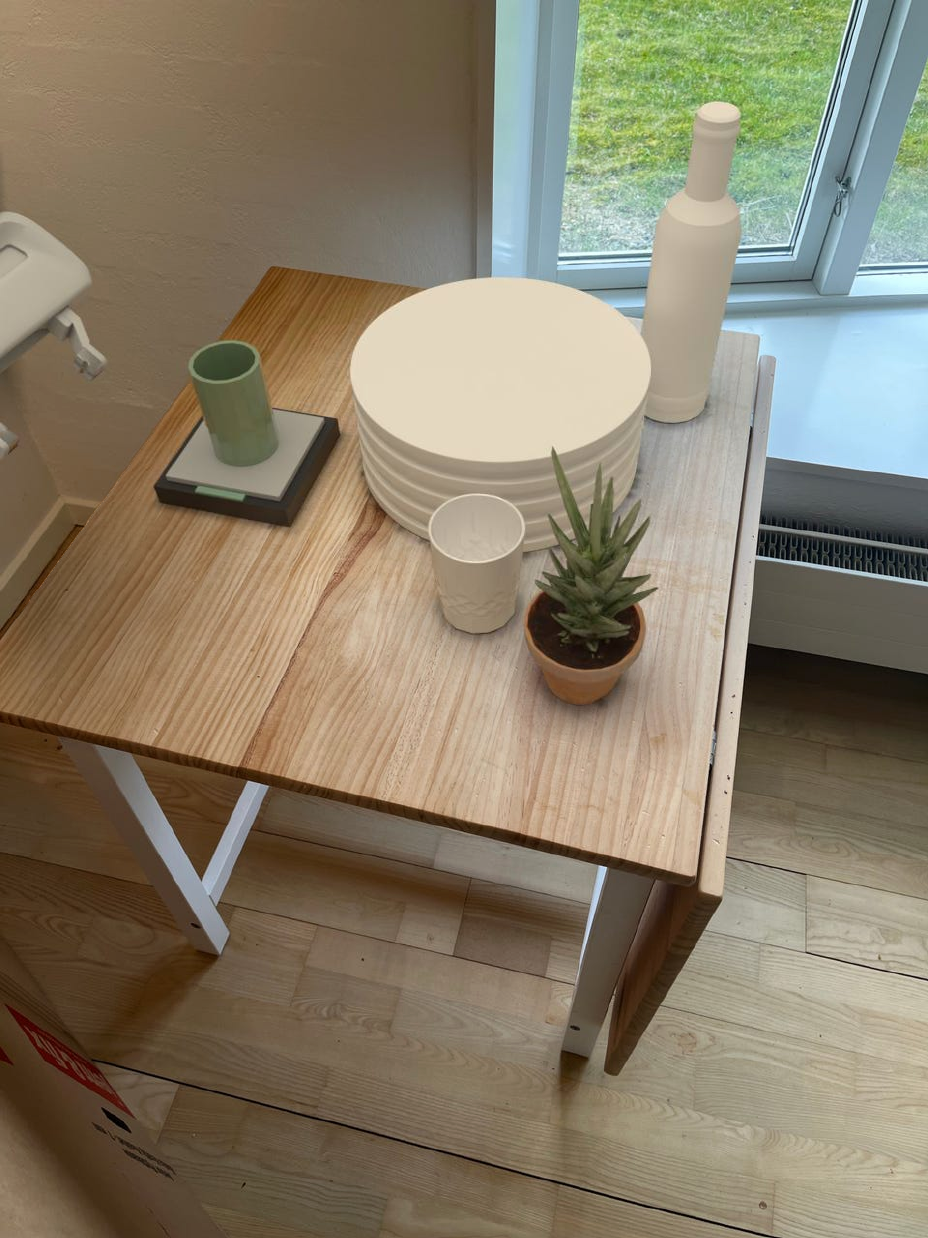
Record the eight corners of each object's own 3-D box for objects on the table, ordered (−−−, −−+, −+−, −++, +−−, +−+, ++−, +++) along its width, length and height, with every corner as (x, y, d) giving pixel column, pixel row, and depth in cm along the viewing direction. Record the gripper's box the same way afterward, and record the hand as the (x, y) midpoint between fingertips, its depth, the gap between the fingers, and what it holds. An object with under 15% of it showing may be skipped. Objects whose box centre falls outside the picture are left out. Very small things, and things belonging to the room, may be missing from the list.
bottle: (645, 430, 99) (691, 136, 76) (621, 384, 104) (657, 95, 80) (717, 417, 100) (785, 123, 77) (690, 372, 105) (745, 83, 81)
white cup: (420, 624, 84) (412, 547, 76) (454, 562, 88) (450, 483, 80) (504, 650, 82) (504, 573, 74) (534, 585, 86) (538, 506, 78)
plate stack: (559, 344, 109) (565, 251, 100) (689, 500, 92) (710, 406, 83) (327, 411, 102) (311, 318, 93) (423, 591, 86) (415, 500, 77)
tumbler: (224, 474, 92) (199, 391, 84) (206, 435, 96) (180, 352, 88) (287, 454, 94) (269, 370, 86) (267, 416, 98) (247, 332, 90)
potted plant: (503, 653, 81) (505, 429, 62) (600, 616, 84) (631, 389, 64) (557, 744, 76) (578, 528, 56) (660, 702, 78) (714, 480, 59)
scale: (289, 527, 92) (284, 505, 89) (159, 502, 94) (151, 480, 92) (340, 434, 100) (336, 412, 98) (219, 413, 103) (213, 392, 100)
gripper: (-244, 327, 57) (-45, 484, 60) (-1, 170, 68) (155, 310, 71) (-237, 378, 62) (-54, 520, 65) (-12, 224, 73) (134, 352, 76)
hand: (57, 409), depth 68 cm, fingers open, 8 cm apart
